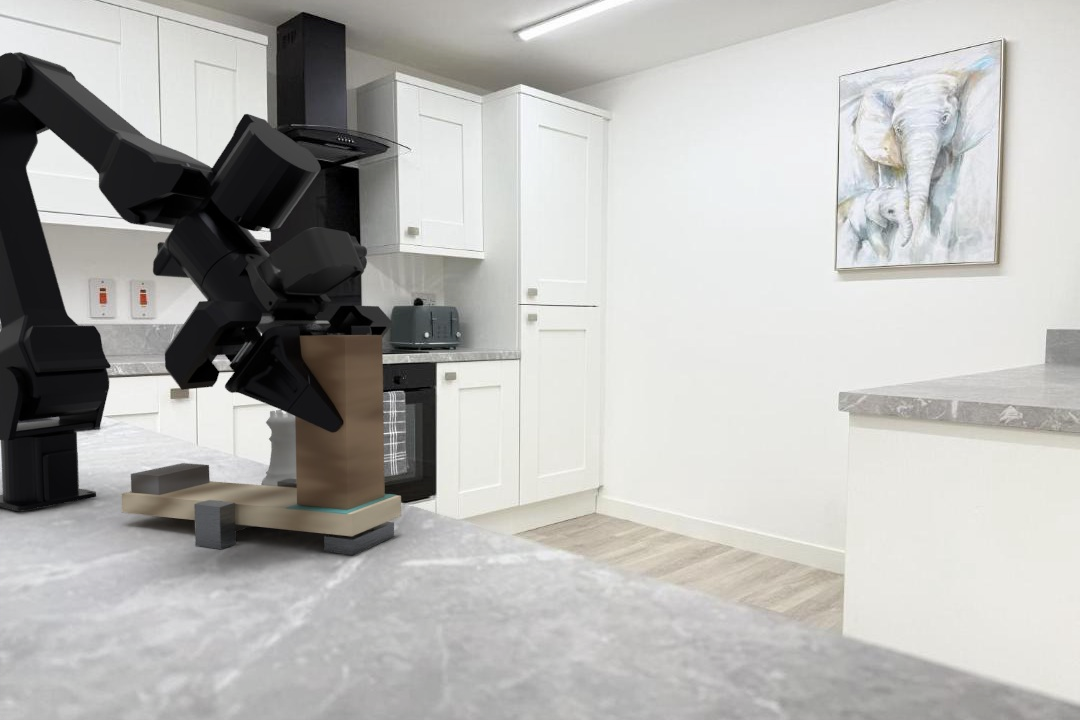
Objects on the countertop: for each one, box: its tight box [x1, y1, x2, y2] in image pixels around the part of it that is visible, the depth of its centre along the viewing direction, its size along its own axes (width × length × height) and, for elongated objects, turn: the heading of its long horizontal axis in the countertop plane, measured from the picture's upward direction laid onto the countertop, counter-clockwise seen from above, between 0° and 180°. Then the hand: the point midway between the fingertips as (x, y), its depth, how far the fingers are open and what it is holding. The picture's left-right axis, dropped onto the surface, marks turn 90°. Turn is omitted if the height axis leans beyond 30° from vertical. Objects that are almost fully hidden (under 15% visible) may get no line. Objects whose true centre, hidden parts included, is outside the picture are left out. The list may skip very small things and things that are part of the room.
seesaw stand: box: [194, 478, 395, 556], centre depth 57 cm, size 12×10×3 cm
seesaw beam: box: [120, 462, 402, 536], centre depth 59 cm, size 22×6×4 cm, turn 67°
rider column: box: [295, 335, 386, 510], centre depth 55 cm, size 4×4×12 cm
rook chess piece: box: [260, 409, 296, 486], centre depth 69 cm, size 4×4×8 cm
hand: (359, 423), depth 55 cm, fingers closed on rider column, 4 cm apart
